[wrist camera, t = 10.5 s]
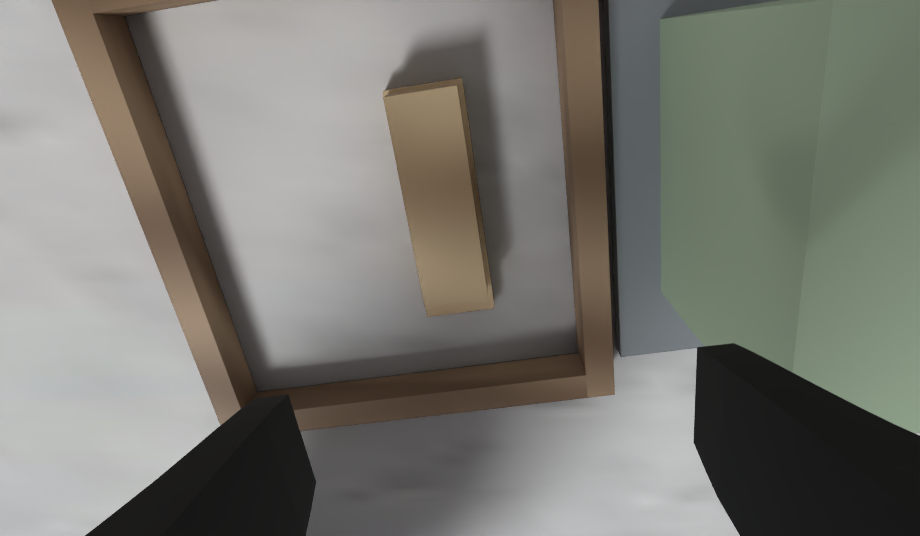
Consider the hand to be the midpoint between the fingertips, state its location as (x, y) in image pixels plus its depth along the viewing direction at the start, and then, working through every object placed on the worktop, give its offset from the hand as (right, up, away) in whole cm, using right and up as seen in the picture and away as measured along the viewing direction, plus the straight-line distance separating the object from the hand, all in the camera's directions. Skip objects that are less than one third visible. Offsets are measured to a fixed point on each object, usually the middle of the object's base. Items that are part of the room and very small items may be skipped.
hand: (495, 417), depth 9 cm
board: (+7, +6, +8) cm, 12 cm away
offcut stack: (-1, +5, +10) cm, 11 cm away
